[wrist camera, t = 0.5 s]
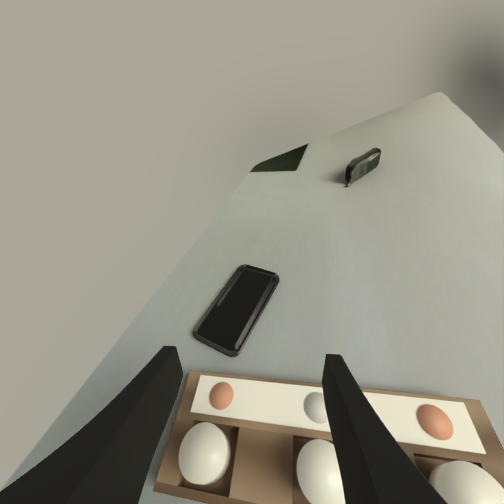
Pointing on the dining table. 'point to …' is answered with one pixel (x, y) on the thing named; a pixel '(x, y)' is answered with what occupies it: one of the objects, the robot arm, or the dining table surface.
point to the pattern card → (315, 417)
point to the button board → (293, 452)
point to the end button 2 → (465, 484)
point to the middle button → (320, 473)
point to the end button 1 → (204, 454)
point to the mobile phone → (362, 165)
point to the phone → (236, 310)
